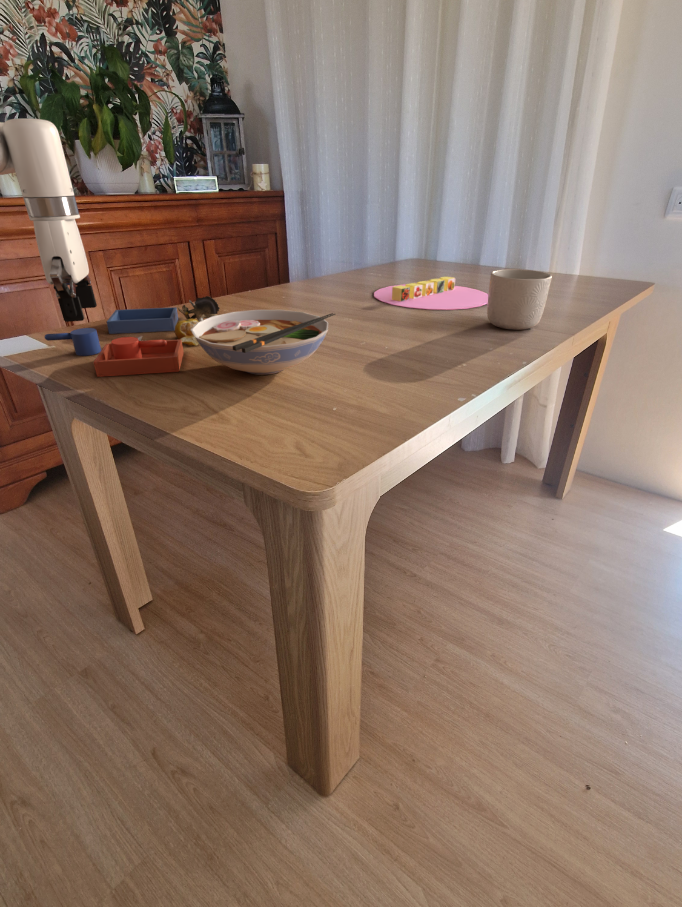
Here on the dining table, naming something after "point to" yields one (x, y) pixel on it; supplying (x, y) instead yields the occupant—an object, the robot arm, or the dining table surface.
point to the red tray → (141, 360)
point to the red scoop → (132, 347)
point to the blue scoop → (80, 340)
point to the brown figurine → (201, 308)
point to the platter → (432, 295)
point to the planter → (517, 298)
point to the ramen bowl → (261, 339)
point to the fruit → (186, 331)
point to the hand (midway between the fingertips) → (81, 313)
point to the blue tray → (142, 320)
